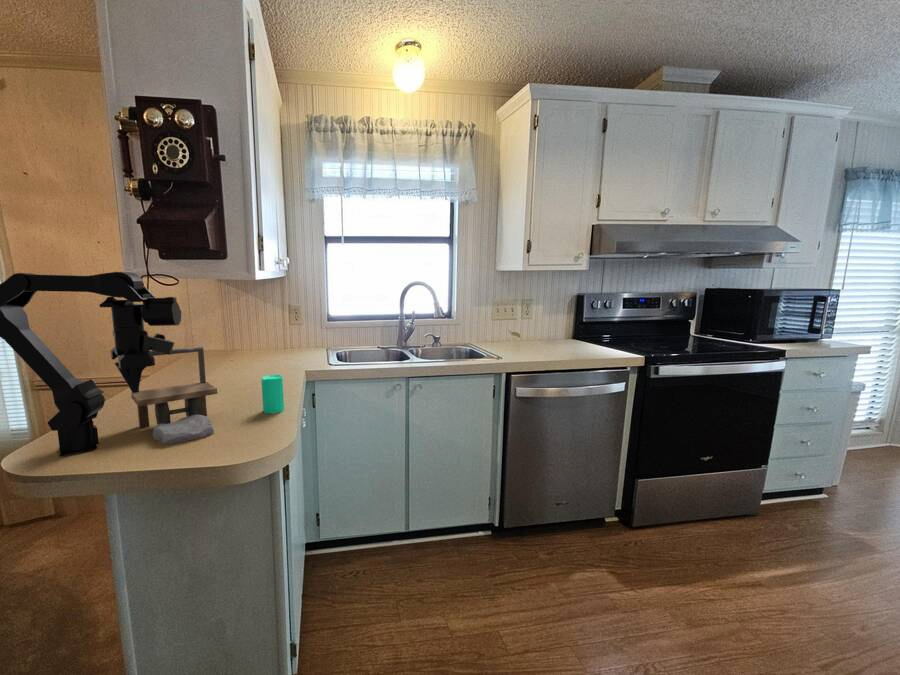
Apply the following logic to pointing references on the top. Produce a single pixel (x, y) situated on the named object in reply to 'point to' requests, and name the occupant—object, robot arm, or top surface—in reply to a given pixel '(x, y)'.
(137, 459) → the top surface
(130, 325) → the robot arm
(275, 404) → the candle
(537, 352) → the top surface
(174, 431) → the stone block
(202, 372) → the wooden chair
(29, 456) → the top surface
